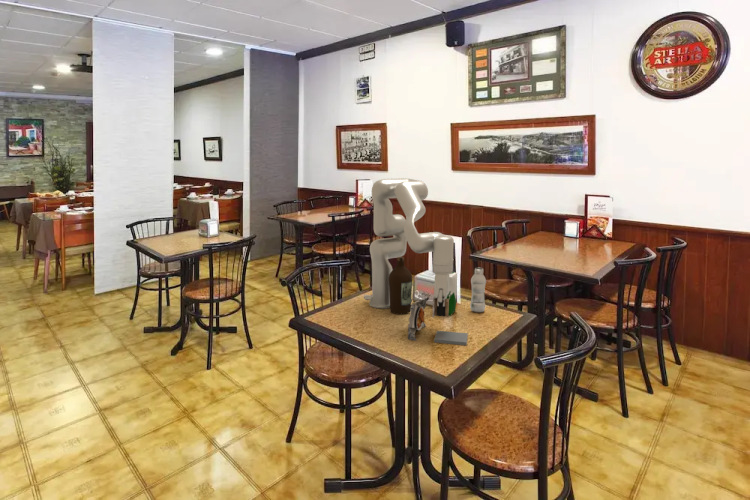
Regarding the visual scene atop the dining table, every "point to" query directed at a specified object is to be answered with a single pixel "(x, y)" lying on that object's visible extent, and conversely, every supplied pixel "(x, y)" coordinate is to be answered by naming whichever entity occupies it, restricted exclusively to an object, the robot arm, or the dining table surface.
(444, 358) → the dining table surface
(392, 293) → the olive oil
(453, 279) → the milk carton
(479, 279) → the plastic bottle
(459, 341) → the slate board
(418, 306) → the meal
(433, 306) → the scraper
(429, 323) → the dining table surface
